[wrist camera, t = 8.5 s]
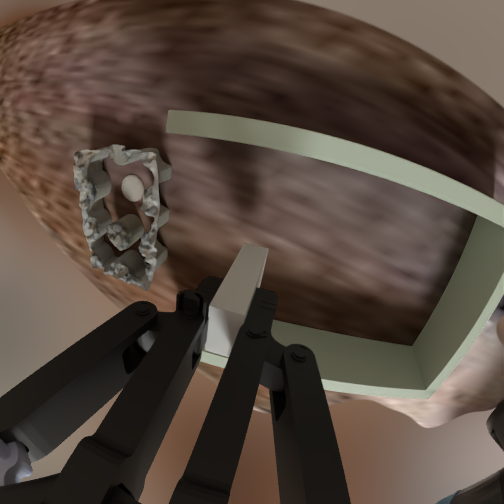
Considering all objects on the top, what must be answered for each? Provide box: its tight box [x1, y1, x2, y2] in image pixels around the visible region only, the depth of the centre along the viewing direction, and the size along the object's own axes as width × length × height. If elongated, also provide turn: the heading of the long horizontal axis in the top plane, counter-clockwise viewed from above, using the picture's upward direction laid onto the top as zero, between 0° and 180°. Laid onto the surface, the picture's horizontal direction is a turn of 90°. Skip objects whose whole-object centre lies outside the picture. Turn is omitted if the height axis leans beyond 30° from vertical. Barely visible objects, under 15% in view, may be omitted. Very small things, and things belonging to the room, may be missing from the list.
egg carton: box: [73, 144, 172, 291], centre depth 20 cm, size 11×8×4 cm
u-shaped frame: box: [166, 110, 504, 399], centre depth 17 cm, size 23×16×6 cm
